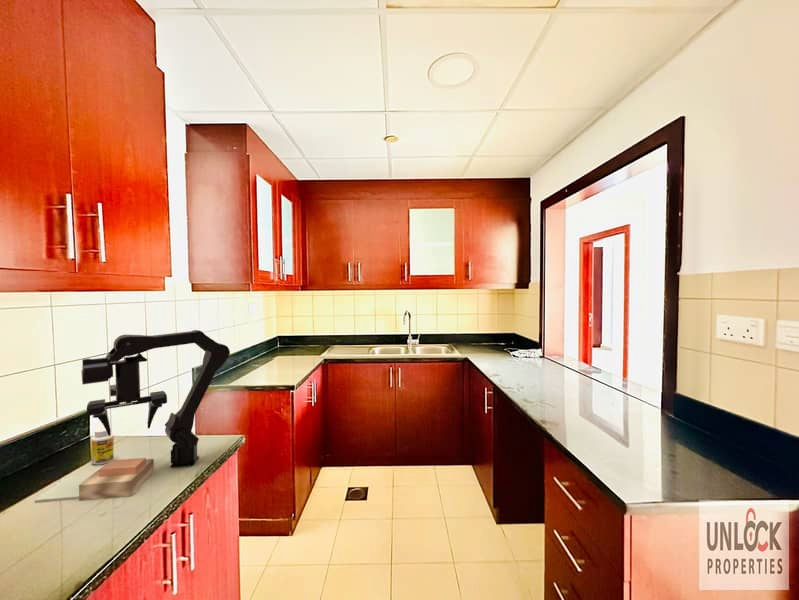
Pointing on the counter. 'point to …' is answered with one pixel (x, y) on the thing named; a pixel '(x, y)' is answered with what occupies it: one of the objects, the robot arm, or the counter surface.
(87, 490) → the block
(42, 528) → the counter surface
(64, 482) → the sage mat
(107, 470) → the terracotta tile
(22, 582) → the counter surface
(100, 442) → the supplement bottle
